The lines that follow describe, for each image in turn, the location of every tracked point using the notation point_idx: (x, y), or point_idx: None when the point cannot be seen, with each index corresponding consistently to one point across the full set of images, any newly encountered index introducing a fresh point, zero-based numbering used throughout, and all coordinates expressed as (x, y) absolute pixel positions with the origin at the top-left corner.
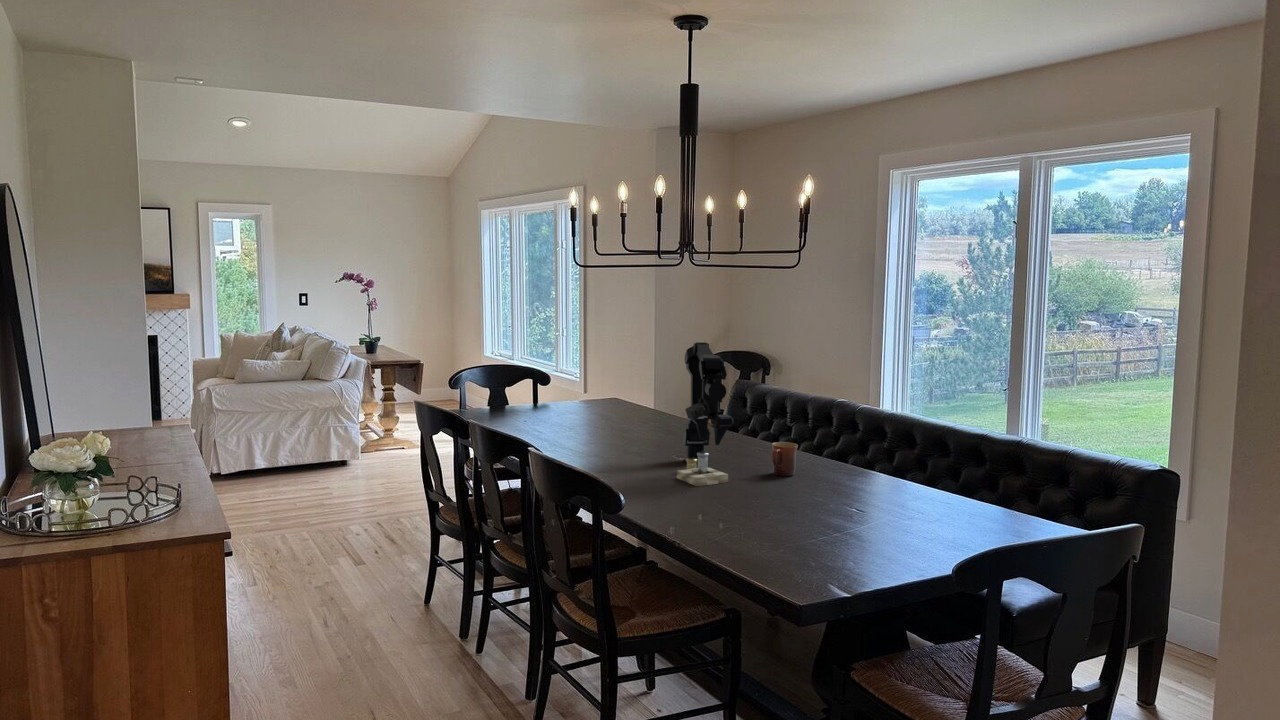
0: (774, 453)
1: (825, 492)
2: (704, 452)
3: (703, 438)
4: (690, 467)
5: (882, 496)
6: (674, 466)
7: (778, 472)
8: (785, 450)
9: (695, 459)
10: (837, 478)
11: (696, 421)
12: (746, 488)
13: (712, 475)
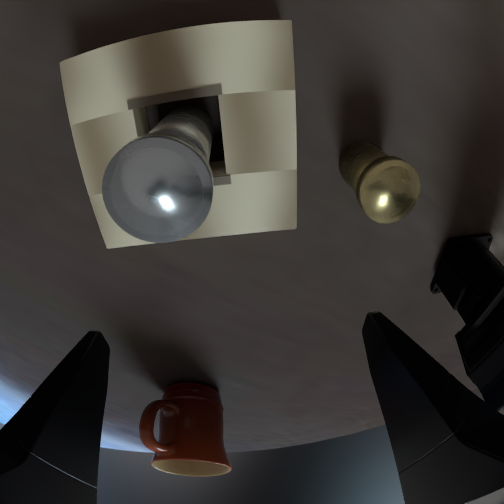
0: (141, 434)
1: (26, 370)
2: (176, 217)
3: (363, 339)
4: (358, 157)
5: (23, 403)
6: (466, 160)
7: (174, 389)
8: (155, 453)
9: (371, 205)
10: (138, 426)
11: (486, 465)
12: (31, 248)
13: (96, 167)
